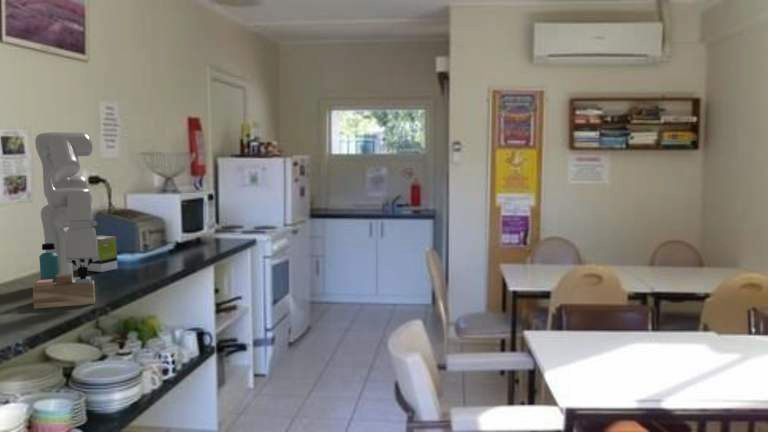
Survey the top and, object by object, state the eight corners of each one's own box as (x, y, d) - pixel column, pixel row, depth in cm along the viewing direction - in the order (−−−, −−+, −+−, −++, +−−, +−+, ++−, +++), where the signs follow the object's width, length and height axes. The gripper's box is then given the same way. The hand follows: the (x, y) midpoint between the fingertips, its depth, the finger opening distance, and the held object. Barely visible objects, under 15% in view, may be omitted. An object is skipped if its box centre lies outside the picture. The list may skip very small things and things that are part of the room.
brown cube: (57, 289, 241) (57, 274, 241) (72, 288, 243) (71, 273, 242) (56, 291, 237) (55, 276, 236) (71, 290, 238) (70, 275, 238)
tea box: (75, 270, 309) (73, 237, 307) (92, 266, 318) (90, 234, 316) (101, 272, 303) (100, 238, 302) (118, 268, 312) (117, 235, 311)
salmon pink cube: (38, 294, 239) (38, 280, 239) (53, 293, 241) (52, 279, 240) (37, 297, 235) (36, 282, 234) (52, 296, 236) (51, 281, 236)
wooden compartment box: (36, 304, 240) (35, 284, 240) (95, 300, 246) (94, 280, 246) (33, 308, 234) (32, 287, 233) (94, 303, 240) (93, 283, 239)
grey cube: (77, 291, 243) (76, 277, 243) (91, 290, 245) (90, 276, 244) (76, 294, 239) (75, 279, 238) (90, 293, 240) (89, 278, 240)
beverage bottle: (53, 301, 245) (50, 244, 243) (36, 300, 246) (33, 244, 244) (65, 297, 251) (62, 242, 249) (49, 297, 252) (46, 241, 250)
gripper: (104, 223, 246) (107, 275, 247) (57, 225, 241) (60, 278, 242) (103, 225, 238) (106, 278, 240) (55, 227, 234) (58, 281, 235)
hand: (83, 278), depth 241 cm, fingers closed
